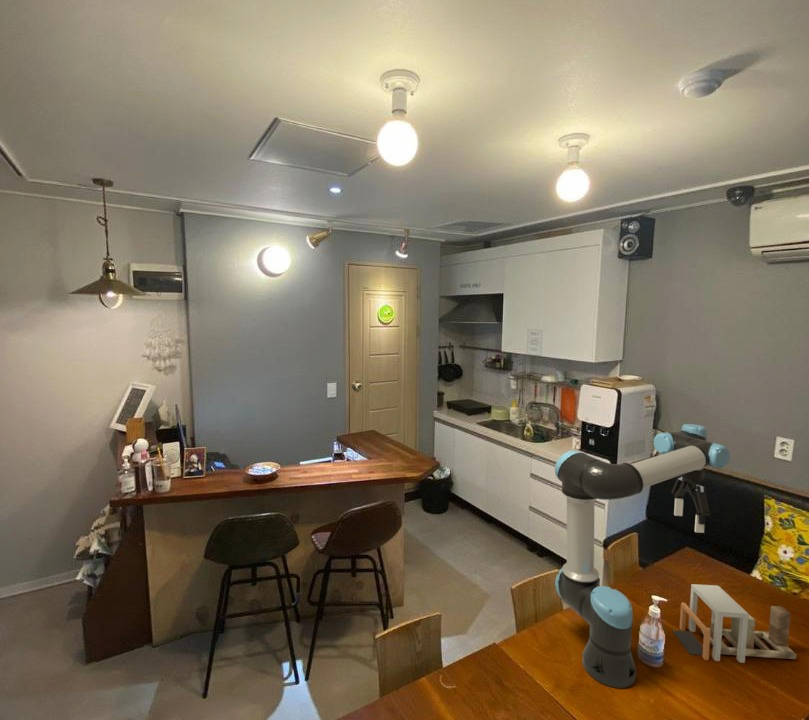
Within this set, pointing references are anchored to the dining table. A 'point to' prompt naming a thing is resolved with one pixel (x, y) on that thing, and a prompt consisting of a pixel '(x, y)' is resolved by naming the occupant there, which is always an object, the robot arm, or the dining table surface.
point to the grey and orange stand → (715, 618)
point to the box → (749, 631)
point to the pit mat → (689, 642)
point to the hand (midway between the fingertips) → (688, 523)
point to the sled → (774, 637)
